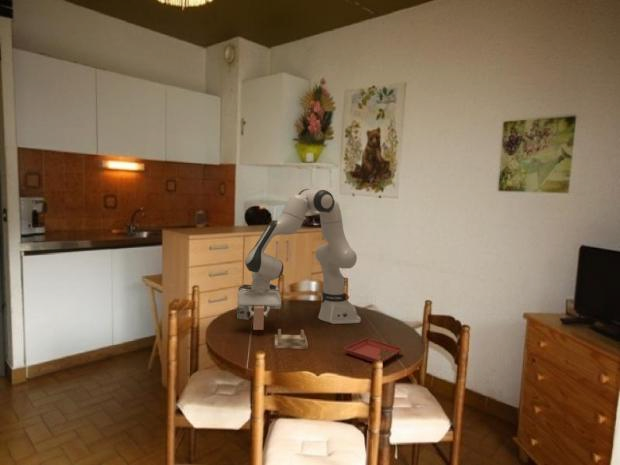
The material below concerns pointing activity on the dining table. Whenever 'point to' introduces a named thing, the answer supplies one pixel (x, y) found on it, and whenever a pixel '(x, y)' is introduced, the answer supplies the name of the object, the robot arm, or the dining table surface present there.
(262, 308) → the pinkish brown block
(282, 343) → the rack
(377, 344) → the plant saucer
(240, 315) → the coffee box
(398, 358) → the dining table surface
